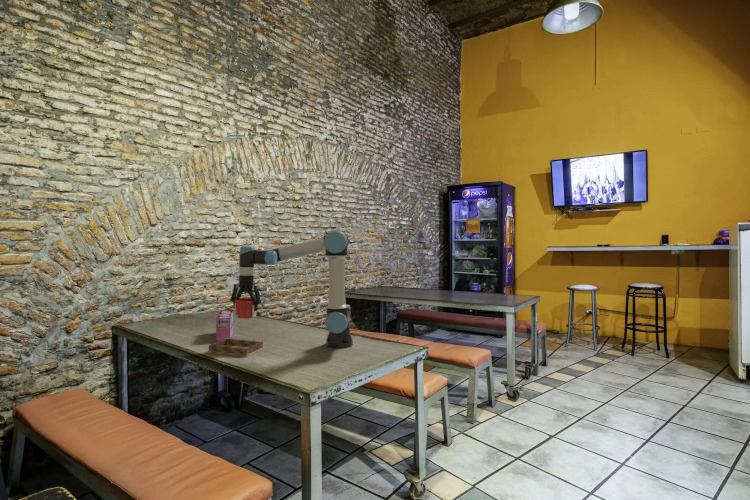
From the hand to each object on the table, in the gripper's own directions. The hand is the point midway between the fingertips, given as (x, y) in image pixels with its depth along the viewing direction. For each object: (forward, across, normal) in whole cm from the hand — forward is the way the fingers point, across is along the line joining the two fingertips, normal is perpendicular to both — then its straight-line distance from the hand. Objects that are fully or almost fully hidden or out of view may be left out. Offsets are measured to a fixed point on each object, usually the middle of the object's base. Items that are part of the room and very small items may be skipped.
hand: (245, 315), depth 226 cm
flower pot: (+1, 0, 0) cm, 1 cm away
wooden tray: (+18, +1, +6) cm, 19 cm away
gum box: (+18, +26, -18) cm, 36 cm away
